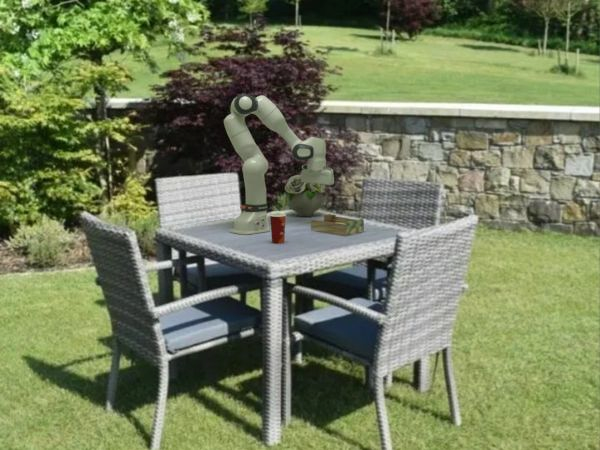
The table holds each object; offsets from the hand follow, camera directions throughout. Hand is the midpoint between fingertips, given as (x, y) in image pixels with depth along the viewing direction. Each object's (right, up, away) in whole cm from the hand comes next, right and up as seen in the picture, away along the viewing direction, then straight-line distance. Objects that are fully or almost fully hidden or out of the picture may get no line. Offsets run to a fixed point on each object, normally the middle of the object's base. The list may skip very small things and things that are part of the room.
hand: (317, 191), depth 411 cm
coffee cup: (-20, -27, -36) cm, 50 cm away
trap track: (+10, -21, -9) cm, 25 cm away
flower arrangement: (-6, -12, +38) cm, 41 cm away
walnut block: (+6, -17, -2) cm, 18 cm away
